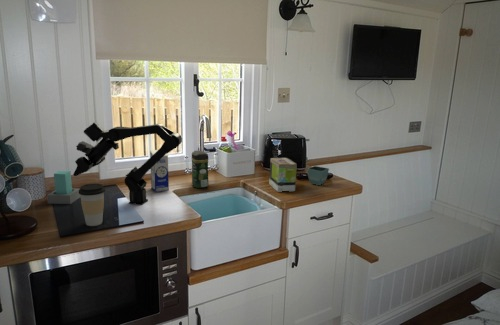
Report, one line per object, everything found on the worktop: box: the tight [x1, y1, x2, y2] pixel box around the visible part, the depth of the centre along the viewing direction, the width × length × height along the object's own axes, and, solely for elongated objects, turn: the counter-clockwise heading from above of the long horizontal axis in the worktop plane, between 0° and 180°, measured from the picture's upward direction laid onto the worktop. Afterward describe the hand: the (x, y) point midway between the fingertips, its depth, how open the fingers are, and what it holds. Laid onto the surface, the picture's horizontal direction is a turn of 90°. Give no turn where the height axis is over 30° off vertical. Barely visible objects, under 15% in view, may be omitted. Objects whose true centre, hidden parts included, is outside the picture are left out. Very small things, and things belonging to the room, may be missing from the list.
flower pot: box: [307, 165, 330, 186], centre depth 204 cm, size 9×9×9 cm
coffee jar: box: [191, 149, 209, 189], centre depth 194 cm, size 10×8×19 cm
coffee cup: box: [79, 183, 106, 227], centre depth 144 cm, size 9×9×15 cm
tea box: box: [268, 157, 298, 193], centre depth 196 cm, size 15×10×15 cm
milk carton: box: [149, 149, 170, 193], centre depth 186 cm, size 7×7×20 cm
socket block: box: [46, 187, 81, 205], centre depth 169 cm, size 10×10×4 cm
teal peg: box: [53, 170, 73, 194], centre depth 168 cm, size 5×5×13 cm
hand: (78, 172), depth 167 cm, fingers open, 9 cm apart
